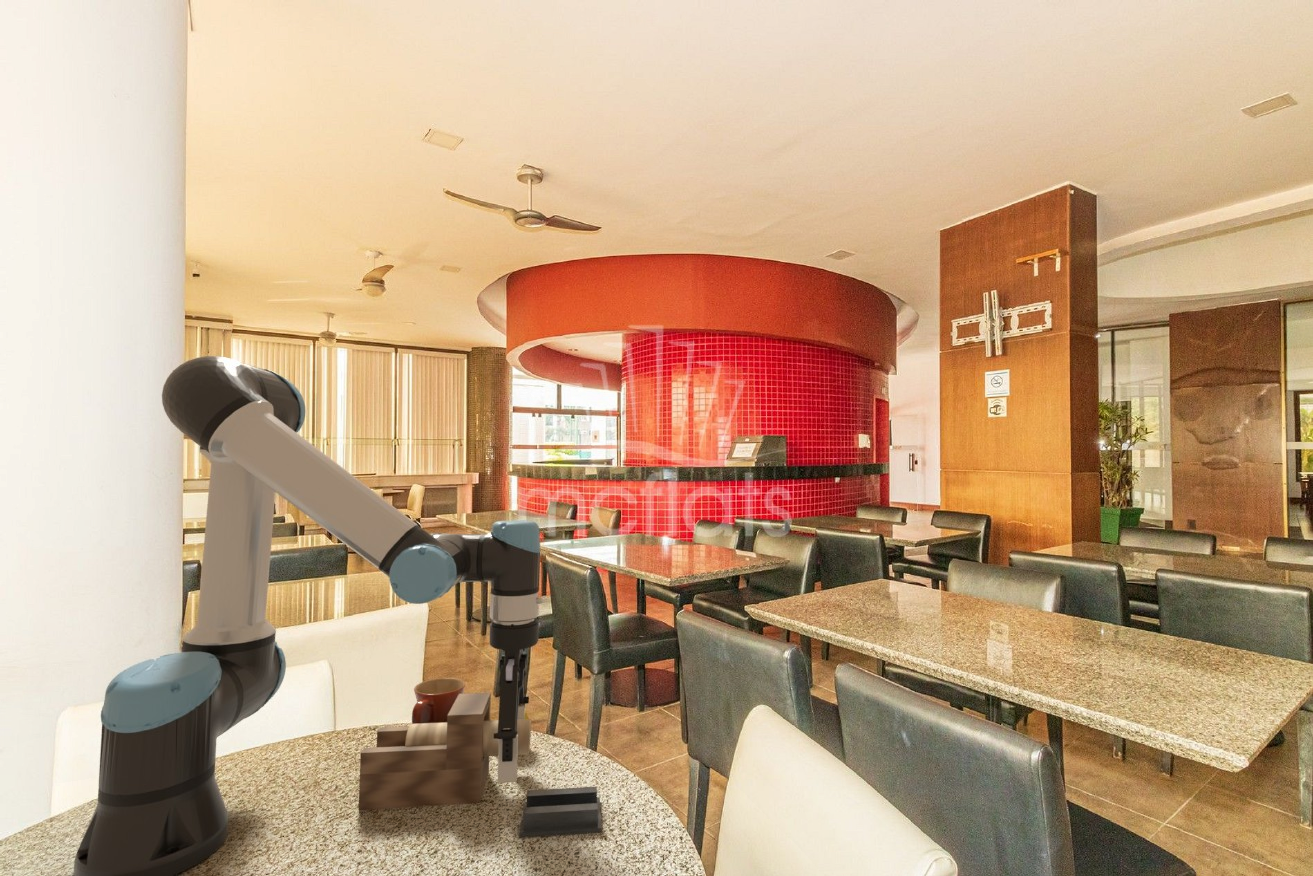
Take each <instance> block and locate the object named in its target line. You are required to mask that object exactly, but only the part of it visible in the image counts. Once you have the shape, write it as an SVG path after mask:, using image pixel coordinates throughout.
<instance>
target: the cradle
mask: <svg viewBox="0 0 1313 876" xmlns="http://www.w3.org/2000/svg"><path fill="white" fill-rule="evenodd" d="M526 791H527V793H526V801H523V808H522V813H521V819H520V826H519V831H518V838H519V839H522V838H523V839H524V838H526V839H527V838H538V837H539V838H540V837H555V836H568V835H570V836H572V835H582V834H583V835H584V834H602V832H603V831H602V830H603V828H602V826H603V825H602V824H603V823H602V816H601V815H602V814H601V813H602V812H601V811H602V810H601V800H600V799H601V797H598V786H583V787H581V786H580V787H579V786H578V787H568V788H567V787H565V788H549V789H548V788H545V789H531V790H530V789H529V790H526Z"/></svg>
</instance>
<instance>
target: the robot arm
mask: <svg viewBox="0 0 1313 876" xmlns="http://www.w3.org/2000/svg"><path fill="white" fill-rule="evenodd" d="M161 401H162V402H161V403H162V407H163V410H164V413H165V414H166V416H167V418H168V419H169V420H170V423H172V425H174V426H175V427H176V428H177V429H178V430H179V431H180V432H181V433H182V434H183V435H185V436H186V437H187V438H188V439H190V440H191V441H192V442H194V443H195V444H197V445H198V446H199V453H200V454H201V455H202V456H203V457H204V458H205V459H206V460H208V462H209V463H210V470H209V471H210V472H209V481H208V482H209V484H208V495H207V508H206V517H205V529H204V541H203V552H202V563H201V564H202V565H201V576H200V588H199V599H198V608H197V609H198V611H197V622H196V624H195V626H193V627H192V628H191V629H190V630H189V631H188V632H186V633H185V634H184V635H183V637H182V644H181V645H182V646H181V647H182V649H181V652H174V653H170V654H164V655H160V656H159V657H158V658H153V659H152V658H150V659H147V660H144V661H141V662H138V663H136V664H134V665H132V666H130V667H127V668H126V669H124V670H122V671H121V672H119V673H118V674H116V675H115V677H114V678H112V679H111V681H110V682H109V683H108V685H107V687H106V688H105V689H106V690H105V694H104V700H103V705H102V708H101V711H100V720H101V735H100V736H101V738H100V753H99V755H100V756H99V773H98V793H97V804H96V808H95V810H94V811H93V815H92V817H91V819H90V821H89V824H88V826H87V828H86V831H85V833H84V835H83V838H82V840H81V842H80V844H79V847H78V849H77V851H76V854H75V858H74V862H73V863H74V864H73V875H74V876H176V875H178V874H180V873H183V872H185V871H187V870H189V869H191V868H192V867H193V868H194V866H196V865H198V864H199V863H200V864H201V862H203V861H204V860H206V859H207V858H208V857H210V856H211V855H212V854H214V853H215V852H217V851H218V849H219V848H220V847H221V846H222V845H223V844H224V842H225V841H226V839H227V837H228V832H229V831H228V830H229V814H228V813H229V812H228V811H227V808H226V804H225V802H224V799H223V797H222V794H221V793H222V792H221V791H220V788H219V785H218V782H217V780H216V773H215V772H216V757H217V738H219V737H220V736H222V735H223V734H224V733H226V732H227V731H229V730H230V729H232V728H233V727H234V726H236V725H237V724H239V723H241V722H242V721H243V720H245V719H247V718H249V717H251V716H252V715H254V714H255V713H257V712H259V710H261V709H262V708H263V707H265V705H266V704H268V702H269V701H270V700H271V699H272V698H273V697H274V696H275V695H276V693H278V691H279V689H280V688H281V685H282V684H283V681H284V678H285V675H286V667H287V663H286V657H285V653H284V650H283V649H282V647H279V645H278V642H277V641H276V634H277V633H276V631H277V630H276V627H275V626H274V625H273V624H272V623H271V622H269V621H268V619H266V615H267V602H268V593H269V591H268V589H269V578H270V577H269V575H270V563H271V551H272V541H273V539H272V538H273V526H274V514H275V513H274V512H275V501H276V500H275V499H276V494H278V496H280V497H282V498H283V499H284V500H286V501H287V502H288V503H289V504H291V505H292V506H293V507H295V508H296V509H298V510H299V511H300V512H301V513H303V514H304V515H306V517H308V518H309V519H310V520H312V521H313V522H315V523H316V524H317V525H319V526H320V527H322V528H323V529H324V530H326V531H327V532H329V533H330V534H331V535H332V536H334V537H335V538H336V539H338V540H339V541H340V542H342V543H343V544H345V545H346V546H347V547H348V548H349V549H351V550H353V551H354V552H355V553H356V554H358V555H359V556H361V557H362V558H363V559H364V560H365V561H367V562H369V563H370V564H371V565H372V566H373V567H375V568H376V569H377V570H379V571H380V572H382V573H383V575H385V576H387V577H388V578H389V583H390V586H391V589H392V591H393V593H394V594H395V595H396V596H397V597H398V598H399V599H400V600H402V601H404V602H406V603H409V604H414V605H416V604H417V605H421V604H427V603H430V602H432V601H435V600H438V599H439V598H442V597H443V596H444V595H445V594H447V593H448V592H449V591H450V590H451V589H452V588H453V587H454V586H456V585H457V584H458V583H476V582H480V583H485V582H489V583H490V593H489V594H490V595H489V596H490V597H489V598H490V599H489V618H490V619H491V622H490V623H489V645H490V646H491V648H493V649H496V650H501V651H504V654H501V659H499V664H498V665H499V667H498V668H499V672H500V675H499V703H498V705H499V706H498V718H497V720H498V733H494V739H497V738H498V739H499V748H498V756H497V757H498V759H497V783H498V784H499V783H500V784H501V783H502V784H503V783H504V784H505V783H516V782H517V781H518V756H519V755H518V734H517V720H518V719H524V714H525V711H526V708H525V706H526V705H527V704H529V703H530V697H529V696H526V693H527V690H526V677H527V676H526V675H527V665H528V654H527V653H526V649H530V648H532V647H535V646H536V645H537V644H538V642H539V630H540V629H539V627H540V626H539V620H538V619H537V617H538V616H539V613H540V612H539V605H540V604H542V603H543V602H544V599H543V597H540V596H539V595H540V573H541V572H540V570H541V552H542V551H541V536H540V534H541V533H540V526H539V525H538V524H537V522H535V521H531V520H521V519H519V520H518V519H517V520H515V519H514V520H513V519H512V520H498V521H496V522H495V521H494V523H493V524H492V526H491V530H490V532H486V533H442V532H435V533H429V532H427V531H426V530H425V529H424V528H422V527H420V526H419V525H418V523H416V522H415V521H413V520H412V519H411V518H409V517H408V516H407V515H406V514H404V513H403V512H402V511H400V510H398V509H397V507H395V506H393V505H392V504H391V503H389V502H388V501H387V499H386V500H385V499H384V498H383V497H382V496H380V494H378V493H377V492H375V490H373V489H371V488H370V487H369V486H368V485H366V484H365V483H364V482H362V481H360V479H358V478H357V477H355V476H354V475H353V474H351V473H350V472H349V471H348V470H346V469H345V468H344V467H342V466H341V465H340V464H339V463H337V462H336V461H334V460H333V459H332V458H330V456H328V455H327V454H325V453H324V452H323V451H321V450H320V449H319V448H317V447H316V446H315V445H313V444H312V443H311V442H309V441H308V440H306V438H304V437H303V436H301V435H300V434H299V433H298V432H299V431H300V430H301V429H302V427H303V425H304V422H305V420H306V419H305V418H306V404H305V400H304V397H303V396H302V394H301V391H300V390H299V389H298V388H297V386H295V384H293V383H292V382H291V381H290V380H288V379H287V378H285V377H284V376H281V375H280V374H279V373H276V372H275V371H273V370H269V369H267V368H266V369H264V368H260V367H257V366H253V365H250V364H247V363H243V362H240V361H238V360H235V359H231V358H229V357H226V356H225V357H224V356H218V355H217V356H216V355H211V356H209V355H208V356H200V357H199V356H198V357H196V358H193V359H190V360H187V361H185V362H183V363H182V364H179V365H178V366H177V367H176V368H175V369H173V370H172V371H171V372H170V374H169V375H168V376H167V379H166V380H165V382H164V384H163V387H162V393H161ZM525 704H526V705H525ZM507 728H510V729H507Z"/></svg>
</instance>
